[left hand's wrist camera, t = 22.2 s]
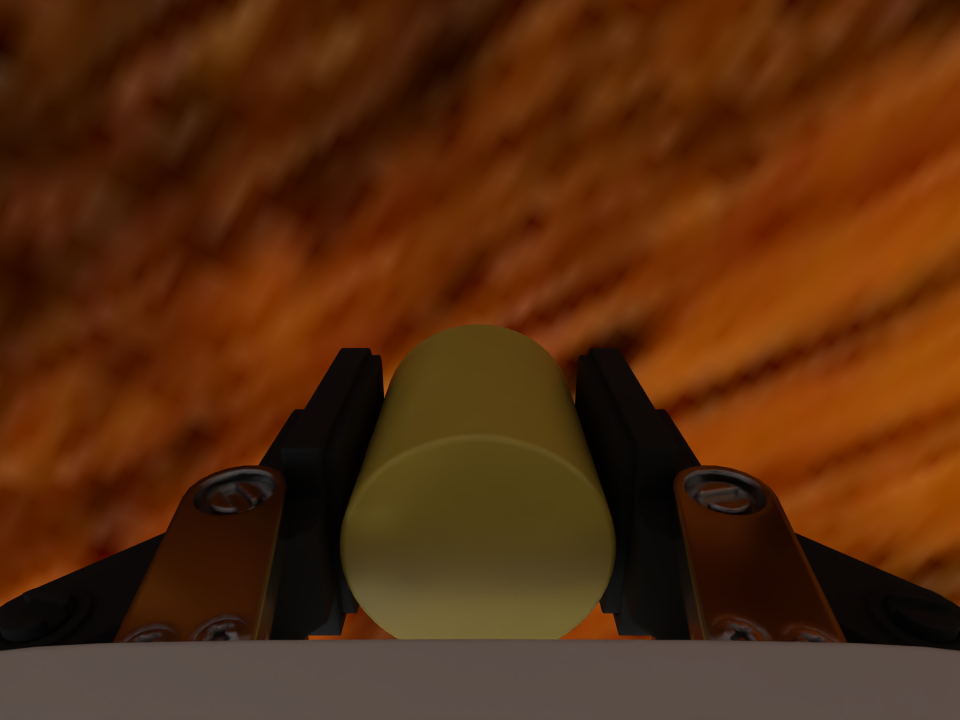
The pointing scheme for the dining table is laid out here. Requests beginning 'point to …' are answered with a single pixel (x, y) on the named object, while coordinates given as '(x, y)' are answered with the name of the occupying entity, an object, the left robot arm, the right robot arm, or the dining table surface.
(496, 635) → the tin
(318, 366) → the dining table surface
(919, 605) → the left robot arm
